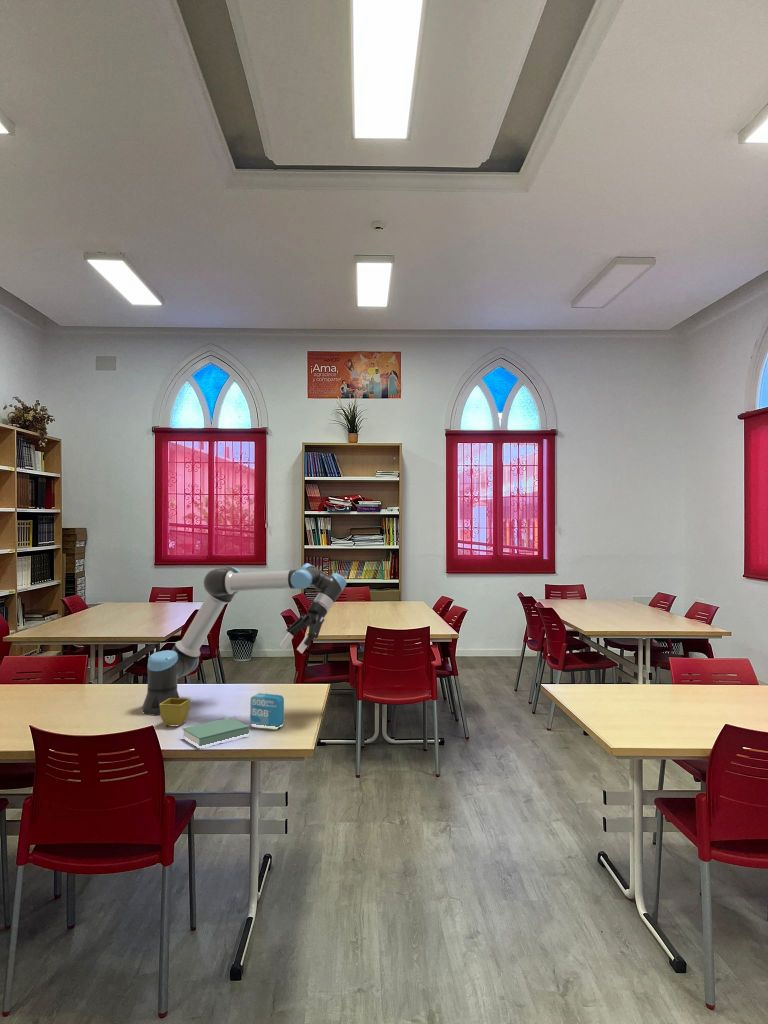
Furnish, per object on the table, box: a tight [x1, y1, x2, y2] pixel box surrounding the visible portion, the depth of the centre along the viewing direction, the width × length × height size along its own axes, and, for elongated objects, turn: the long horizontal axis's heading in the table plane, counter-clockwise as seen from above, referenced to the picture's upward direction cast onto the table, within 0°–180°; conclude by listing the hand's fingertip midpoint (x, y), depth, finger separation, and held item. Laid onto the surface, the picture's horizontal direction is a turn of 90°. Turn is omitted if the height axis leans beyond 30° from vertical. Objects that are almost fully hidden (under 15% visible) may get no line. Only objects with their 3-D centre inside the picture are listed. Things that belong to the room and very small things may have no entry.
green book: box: [182, 717, 250, 746], centre depth 218 cm, size 14×19×4 cm
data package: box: [249, 692, 285, 727], centre depth 230 cm, size 12×4×12 cm, turn 73°
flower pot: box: [159, 698, 191, 726], centre depth 233 cm, size 9×9×9 cm
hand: (290, 649), depth 238 cm, fingers open, 13 cm apart
